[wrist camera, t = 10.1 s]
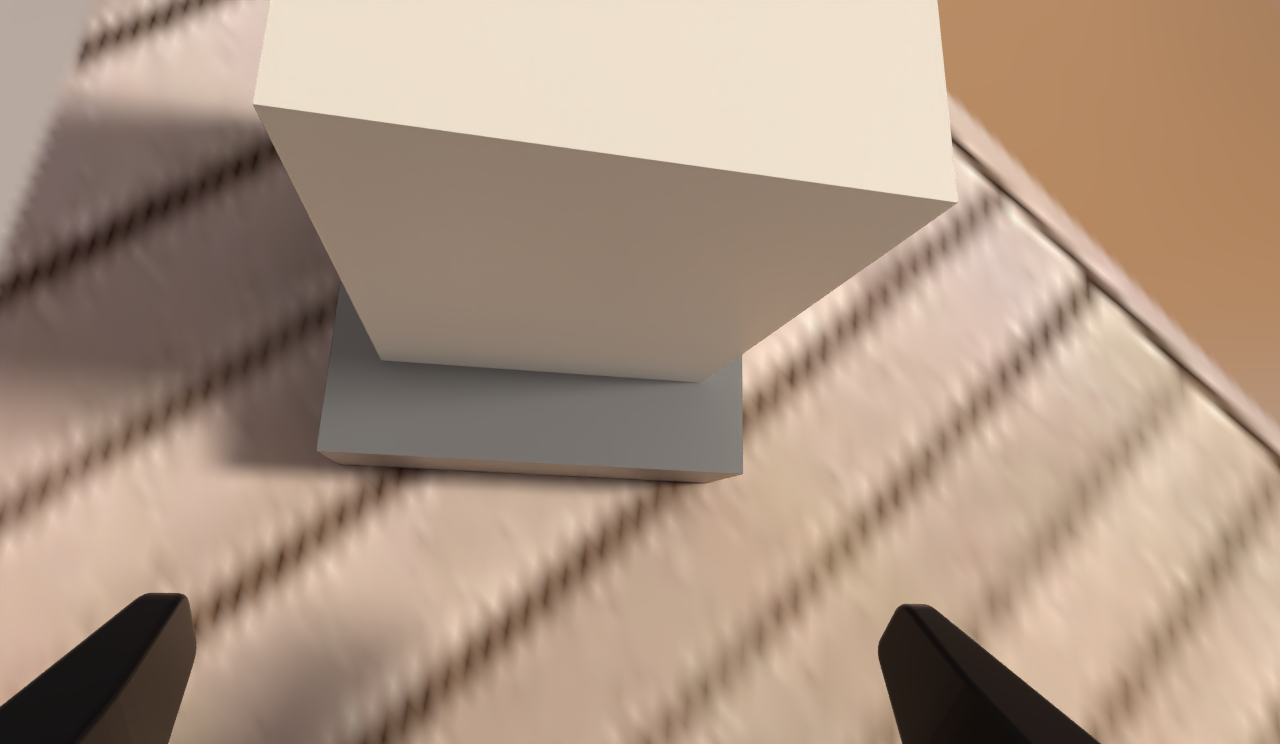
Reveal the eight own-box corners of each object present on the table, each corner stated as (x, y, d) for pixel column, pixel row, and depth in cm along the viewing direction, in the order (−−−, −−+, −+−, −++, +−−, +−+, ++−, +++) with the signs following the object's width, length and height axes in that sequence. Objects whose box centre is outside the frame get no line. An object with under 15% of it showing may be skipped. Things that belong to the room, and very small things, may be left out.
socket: (707, 483, 18) (742, 474, 16) (339, 464, 16) (316, 450, 14) (709, 111, 21) (739, 56, 19) (393, 57, 19) (382, -11, 17)
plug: (675, 401, 18) (957, 202, 8) (392, 382, 17) (253, 104, 6) (676, 159, 20) (908, -278, 9) (419, 123, 18) (347, -448, 8)
